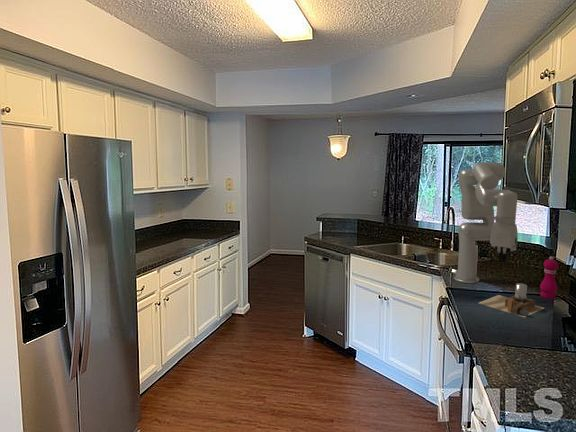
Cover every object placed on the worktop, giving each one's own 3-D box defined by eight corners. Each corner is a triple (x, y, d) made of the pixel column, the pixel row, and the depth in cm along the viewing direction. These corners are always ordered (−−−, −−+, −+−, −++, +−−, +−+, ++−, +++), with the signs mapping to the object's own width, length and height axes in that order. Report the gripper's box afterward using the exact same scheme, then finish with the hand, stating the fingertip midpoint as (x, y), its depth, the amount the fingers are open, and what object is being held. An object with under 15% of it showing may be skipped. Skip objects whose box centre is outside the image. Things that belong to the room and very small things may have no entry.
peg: (512, 305, 196) (514, 284, 194) (517, 303, 199) (519, 282, 197) (522, 308, 193) (524, 287, 191) (527, 306, 195) (529, 285, 193)
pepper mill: (540, 293, 216) (544, 253, 213) (557, 296, 212) (561, 256, 209) (537, 297, 211) (541, 256, 208) (555, 300, 206) (559, 259, 203)
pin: (507, 310, 190) (508, 299, 189) (510, 309, 192) (511, 298, 191) (526, 316, 184) (527, 304, 183) (528, 314, 185) (530, 303, 184)
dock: (477, 305, 200) (478, 296, 199) (498, 297, 211) (499, 288, 210) (524, 320, 183) (525, 310, 183) (544, 310, 194) (545, 300, 193)
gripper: (484, 219, 192) (481, 259, 195) (518, 224, 180) (515, 267, 183) (493, 217, 196) (490, 257, 199) (527, 222, 184) (524, 264, 187)
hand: (502, 261), depth 191 cm, fingers closed
